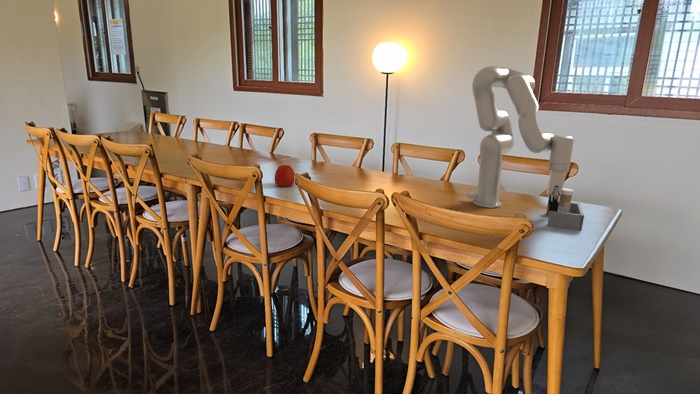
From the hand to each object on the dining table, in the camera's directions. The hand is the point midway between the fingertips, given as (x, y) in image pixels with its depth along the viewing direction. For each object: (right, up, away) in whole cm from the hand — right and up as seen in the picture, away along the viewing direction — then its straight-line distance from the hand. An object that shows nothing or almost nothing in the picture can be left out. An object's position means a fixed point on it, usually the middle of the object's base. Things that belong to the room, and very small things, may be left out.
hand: (552, 208), depth 180 cm
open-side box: (+4, -5, 0) cm, 7 cm away
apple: (-115, +10, +41) cm, 123 cm away
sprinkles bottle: (+4, -6, 0) cm, 7 cm away
